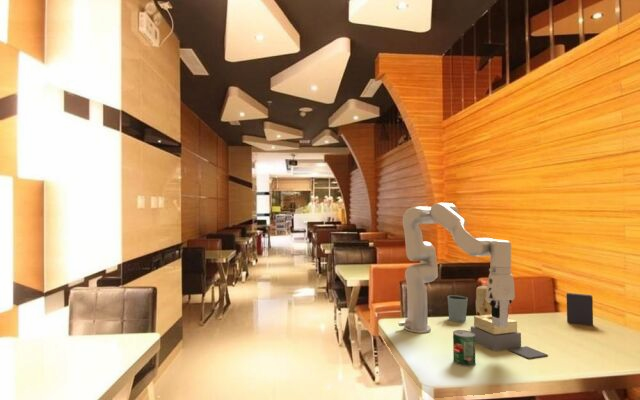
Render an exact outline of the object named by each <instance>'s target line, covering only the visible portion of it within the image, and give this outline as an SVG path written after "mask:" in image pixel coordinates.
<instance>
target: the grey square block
mask: <svg viewBox="0 0 640 400" xmlns="http://www.w3.org/2000/svg"><path fill="white" fill-rule="evenodd" d="M470 332H473V333H474V334H475V344H479V346H482V347H485V348H487V349H489V350H491V351H493V352H497V351H498V352H499V351H503V350H504V351H505V350H508V349H510V348H518V347H522V332H519V331H517V332H512V333H504V334H495V335H494V334H492V333H489V332H487V331H484V330H482V329H479V328H477V327H475V326H474V325H471V326H470Z"/></svg>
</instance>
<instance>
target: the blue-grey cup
mask: <svg viewBox="0 0 640 400" xmlns="http://www.w3.org/2000/svg"><path fill="white" fill-rule="evenodd" d="M468 300H469V299H468V297H467V296H463V295H454V294H452V295H448V296H447V308H448V309H447V311H448V320H449V321H452V322H456V323H465V322H466V321H467V310H468V309H467V308H468Z"/></svg>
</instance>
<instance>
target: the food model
mask: <svg viewBox="0 0 640 400" xmlns="http://www.w3.org/2000/svg"><path fill="white" fill-rule="evenodd" d="M486 296H487V285H480V286H479V285H478V287H476V291H475V313H476V315H475V316H481V315H491V314H492V306H490V304H489V302H487V301H486V300H485V298H486Z"/></svg>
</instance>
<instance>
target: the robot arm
mask: <svg viewBox="0 0 640 400" xmlns="http://www.w3.org/2000/svg"><path fill="white" fill-rule="evenodd" d="M437 223H438V224H439V225H440V226H442V228H444V229H445V230H446V231H447V232H449V234H451V237H452V239H453V242H454V243H455V244H456V246H458V247H459V248H460V249H461V250H462V252H463V251H464V252H465V253H466V254H468V255H469V256H471V257H477V258H478V257H479V258H480V257H490V268H488V271H489V274H488V277H487V278H488V279H487V285H486V286H487V296H486V298H485V300H486V301H487V302H489V304H490V306H492V316H493V317H496V318H499V308H497V307H498V302H499V301H503V300H508V308H510V306H511V304H512V301H514V300H515V299H516V295H515V294H516V292H515V280H514V275H513V274H512V243H511V242H510V241H509V240H505V239H493V238H491V237H490V238H489V237H474V236H473V235H471V234H470V233H469V232H468V231H467V230H466V228H465V227H466V223H467V222H466V220H465V219H464V217H462V216H461V215H460V214H459V209H458V207H457V206H456V205H455V204H453V203H451V202H450V203H449V202H437V203H433V205H432V206H412V207H410V208H408V209H407V210H405V212H404V213H403V216H402V227H403V232H404V240H405V243H404V244H405V254H406V257H407V259H408V260H409V261H411V262H420V263H416V264H415V263H413V264H411V265H409V266H407V268H406V269H405V273H404V277H405V282H406V291H407V293H406V295H407V297H406V298H407V302H406V303H407V304H406V305H407V306H406V307H407V308H406V309H407V311H406V312H407V313H406V314H407V318H405V320H404V321H399V322H398V326H399V327H404V328H403V329H404V330H405V331H407V332H411V333H416V334H418V333H419V334H425V333H429V332H431V330H432V327H431V326H430V325H428V290H427V287H426V285H425V284H426V283H431V282H433V281H435V280H436V279H437V277H438V274H439V273H438V262H437V252H436V248H435V247H434V245H433V244H432V243H431V242H429V241H424V239H423V231H422V230H421V227H420V226H419V225H423V224H424V225H428V224H429V225H430V224H431V225H433V224H437ZM494 301H495V303H494Z"/></svg>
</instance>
